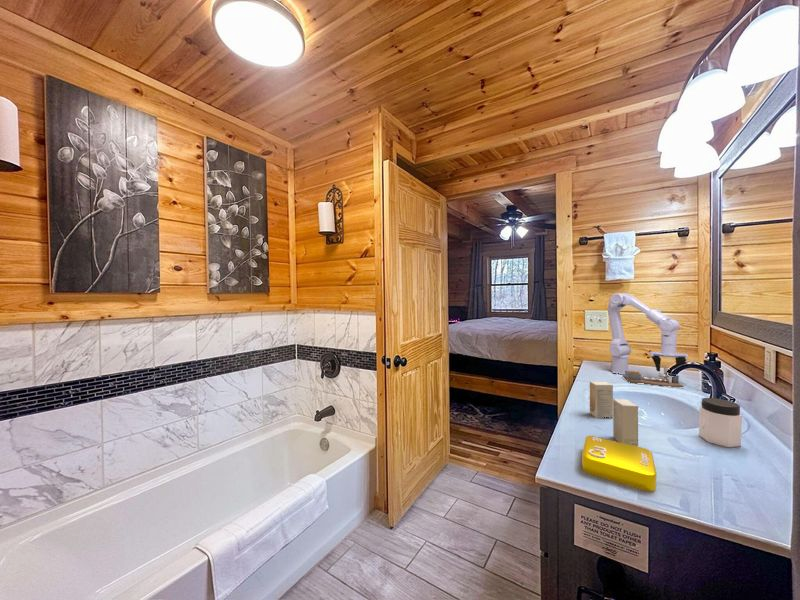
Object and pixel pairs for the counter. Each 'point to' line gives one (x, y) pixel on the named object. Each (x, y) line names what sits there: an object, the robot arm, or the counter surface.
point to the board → (654, 382)
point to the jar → (720, 422)
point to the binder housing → (633, 375)
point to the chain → (660, 378)
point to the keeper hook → (674, 379)
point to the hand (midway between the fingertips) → (667, 371)
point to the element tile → (619, 463)
